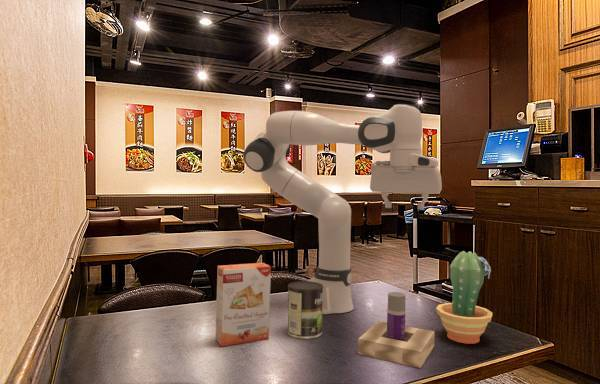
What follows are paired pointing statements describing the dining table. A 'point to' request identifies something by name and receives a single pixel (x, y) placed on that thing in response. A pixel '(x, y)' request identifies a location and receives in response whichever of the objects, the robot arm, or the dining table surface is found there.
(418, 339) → the organizer block
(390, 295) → the container
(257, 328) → the cracker box
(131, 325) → the dining table surface
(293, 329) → the coffee can
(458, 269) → the potted cactus
